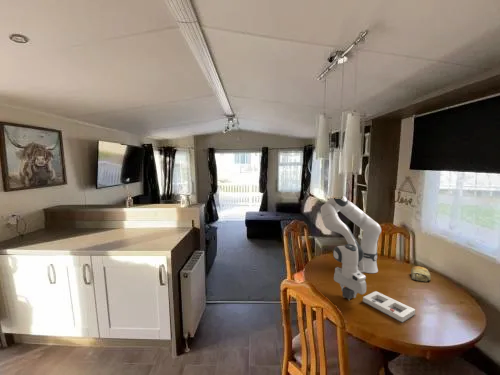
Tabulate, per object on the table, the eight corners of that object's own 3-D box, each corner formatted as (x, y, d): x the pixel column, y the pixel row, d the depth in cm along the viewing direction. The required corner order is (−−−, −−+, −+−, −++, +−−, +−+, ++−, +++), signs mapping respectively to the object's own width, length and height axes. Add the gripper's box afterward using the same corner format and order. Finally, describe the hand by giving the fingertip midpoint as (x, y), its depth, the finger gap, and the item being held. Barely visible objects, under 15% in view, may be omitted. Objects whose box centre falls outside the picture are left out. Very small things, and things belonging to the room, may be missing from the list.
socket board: (362, 301, 142) (363, 296, 142) (375, 295, 149) (375, 290, 148) (402, 323, 123) (402, 316, 123) (415, 314, 130) (415, 308, 130)
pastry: (420, 273, 179) (421, 263, 178) (436, 281, 167) (437, 270, 166) (404, 274, 177) (404, 264, 176) (418, 283, 165) (419, 272, 164)
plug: (342, 297, 147) (342, 288, 146) (348, 294, 149) (348, 285, 149) (348, 301, 143) (349, 291, 142) (354, 298, 146) (355, 288, 145)
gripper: (332, 266, 152) (331, 287, 153) (361, 280, 134) (360, 304, 136) (338, 264, 155) (337, 285, 156) (368, 277, 138) (367, 300, 139)
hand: (348, 294), depth 146 cm, fingers open, 6 cm apart
